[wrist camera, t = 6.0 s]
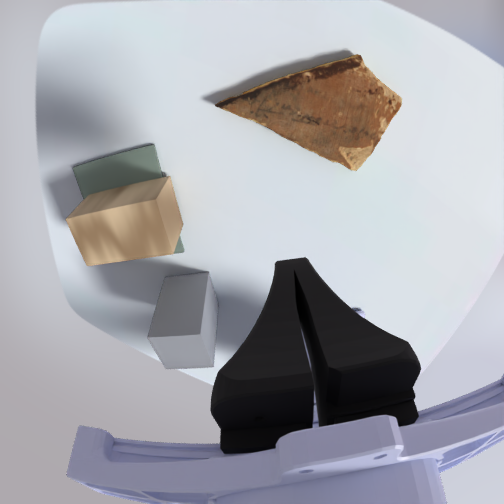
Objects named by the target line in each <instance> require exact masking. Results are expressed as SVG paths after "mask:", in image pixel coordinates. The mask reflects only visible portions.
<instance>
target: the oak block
mask: <svg viewBox="0 0 504 504" xmlns="http://www.w3.org/2000/svg"><path fill="white" fill-rule="evenodd" d="M66 221H67V224H68V226H69V228H70V231H71V233H72V235H73V237H74V240H75V242H76V244H77V246H78V248H79V250H80V253H81V255H82V257H83V259H84V261H85V263H86V265H87V266H93V265H100V264H107V263H114V262H121V261H128V260H135V259H142V258H149V257H156V256H163V255H171V254H174V251H175V248H176V245H177V242H178V239H179V236H180V233H181V230H182V227H183V221H182V218H181V214H180V211H179V207H178V204H177V200H176V196H175V193H174V189H173V185H172V181H171V178H170V176H168V177H163V178H158V179H153V180H148V181H144V182H139V183H135V184H130V185H126V186H122V187H118V188H113V189H109V190H105V191H101V192H97V193H93V194H90V195H88V196H87V197H86V198H85V199H84V200H83V201H82V202H81V203H80V204H79V205H78V206H77V207H76V209H75V210H74V211H73V212H72V213H71V214H70V215H69V216H68V217H67V218H66Z"/></svg>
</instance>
